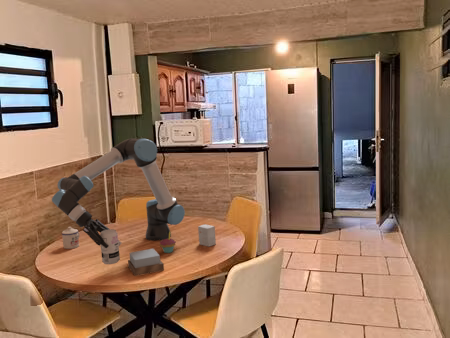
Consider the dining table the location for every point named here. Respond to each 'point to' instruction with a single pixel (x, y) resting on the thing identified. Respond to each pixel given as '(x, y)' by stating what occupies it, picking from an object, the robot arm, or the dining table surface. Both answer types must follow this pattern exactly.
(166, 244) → the cupcake
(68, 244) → the teacup with lid
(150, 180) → the robot arm
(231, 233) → the dining table surface
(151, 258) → the tower top slab
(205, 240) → the small box
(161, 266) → the tower base slab
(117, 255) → the supplement can
